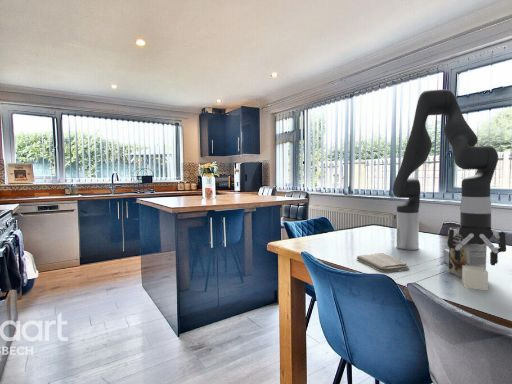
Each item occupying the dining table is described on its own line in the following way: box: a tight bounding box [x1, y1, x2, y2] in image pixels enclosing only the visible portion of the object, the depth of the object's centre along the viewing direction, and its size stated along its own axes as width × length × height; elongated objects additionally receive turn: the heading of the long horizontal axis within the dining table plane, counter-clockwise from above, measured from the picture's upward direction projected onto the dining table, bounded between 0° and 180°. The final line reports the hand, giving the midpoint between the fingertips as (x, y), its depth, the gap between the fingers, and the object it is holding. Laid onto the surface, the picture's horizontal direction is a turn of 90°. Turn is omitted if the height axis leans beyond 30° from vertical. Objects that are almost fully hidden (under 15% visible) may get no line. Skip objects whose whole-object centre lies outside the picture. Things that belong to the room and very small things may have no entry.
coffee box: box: [448, 226, 488, 278], centre depth 97 cm, size 9×6×16 cm
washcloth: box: [356, 252, 410, 273], centre depth 112 cm, size 12×18×3 cm, turn 13°
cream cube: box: [461, 265, 489, 291], centre depth 89 cm, size 6×6×6 cm
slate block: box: [443, 248, 449, 265], centre depth 111 cm, size 5×5×5 cm
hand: (475, 263), depth 88 cm, fingers open, 8 cm apart
